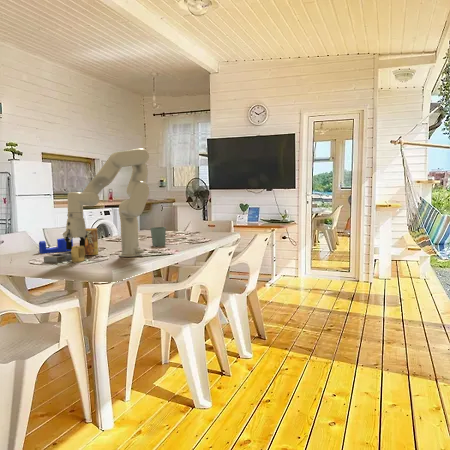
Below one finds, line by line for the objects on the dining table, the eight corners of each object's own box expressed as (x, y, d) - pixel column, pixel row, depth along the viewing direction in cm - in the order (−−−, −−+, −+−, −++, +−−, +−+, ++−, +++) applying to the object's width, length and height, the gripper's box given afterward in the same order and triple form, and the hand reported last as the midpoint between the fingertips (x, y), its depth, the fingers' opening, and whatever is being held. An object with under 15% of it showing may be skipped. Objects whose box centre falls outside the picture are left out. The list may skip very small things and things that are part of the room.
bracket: (69, 249, 261) (68, 237, 261) (75, 250, 255) (75, 238, 254) (38, 253, 248) (37, 240, 247) (43, 254, 241) (42, 241, 240)
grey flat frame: (71, 256, 230) (71, 251, 230) (84, 257, 227) (83, 251, 227) (43, 262, 212) (43, 256, 211) (57, 263, 208) (56, 257, 208)
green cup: (164, 246, 266) (164, 228, 265) (149, 246, 266) (149, 228, 265) (167, 244, 276) (166, 226, 275) (152, 244, 276) (152, 227, 275)
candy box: (98, 253, 238) (97, 227, 237) (98, 254, 234) (96, 228, 233) (82, 254, 236) (81, 228, 235) (82, 255, 232) (80, 229, 231)
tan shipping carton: (85, 260, 214) (84, 245, 214) (79, 262, 210) (78, 246, 210) (77, 260, 216) (76, 245, 216) (71, 261, 212) (70, 246, 212)
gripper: (69, 216, 202) (69, 250, 203) (92, 215, 218) (92, 247, 219) (57, 216, 205) (57, 249, 206) (81, 215, 221) (81, 246, 222)
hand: (75, 248), depth 212 cm, fingers open, 9 cm apart
